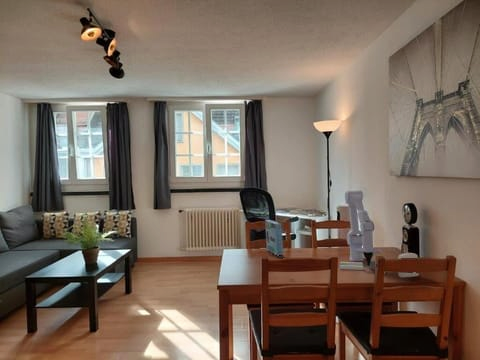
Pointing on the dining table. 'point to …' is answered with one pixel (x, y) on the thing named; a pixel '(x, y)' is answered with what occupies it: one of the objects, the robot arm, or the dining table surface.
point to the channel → (351, 265)
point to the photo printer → (408, 255)
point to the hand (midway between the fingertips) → (368, 265)
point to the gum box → (274, 237)
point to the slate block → (372, 264)
